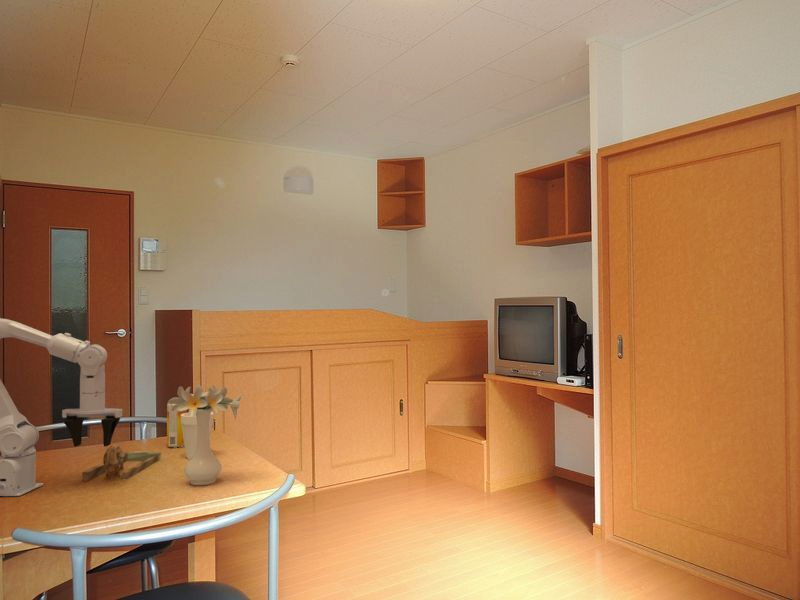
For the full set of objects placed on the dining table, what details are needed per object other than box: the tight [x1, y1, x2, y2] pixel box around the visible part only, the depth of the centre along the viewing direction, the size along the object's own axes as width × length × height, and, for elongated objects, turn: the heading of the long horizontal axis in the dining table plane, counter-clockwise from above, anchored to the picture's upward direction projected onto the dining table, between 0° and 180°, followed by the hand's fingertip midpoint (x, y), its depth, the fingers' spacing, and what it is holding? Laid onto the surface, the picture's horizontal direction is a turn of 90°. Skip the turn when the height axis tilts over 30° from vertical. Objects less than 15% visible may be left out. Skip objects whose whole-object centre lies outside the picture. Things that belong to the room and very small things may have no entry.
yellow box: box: [166, 403, 188, 448], centre depth 193 cm, size 6×6×15 cm
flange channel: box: [81, 450, 162, 482], centre depth 165 cm, size 22×11×2 cm, turn 178°
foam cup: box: [181, 411, 215, 459], centre depth 179 cm, size 10×9×13 cm
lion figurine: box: [102, 444, 126, 480], centre depth 160 cm, size 15×5×9 cm, turn 27°
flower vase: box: [167, 384, 244, 486], centre depth 153 cm, size 13×18×25 cm
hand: (92, 445), depth 150 cm, fingers open, 7 cm apart
